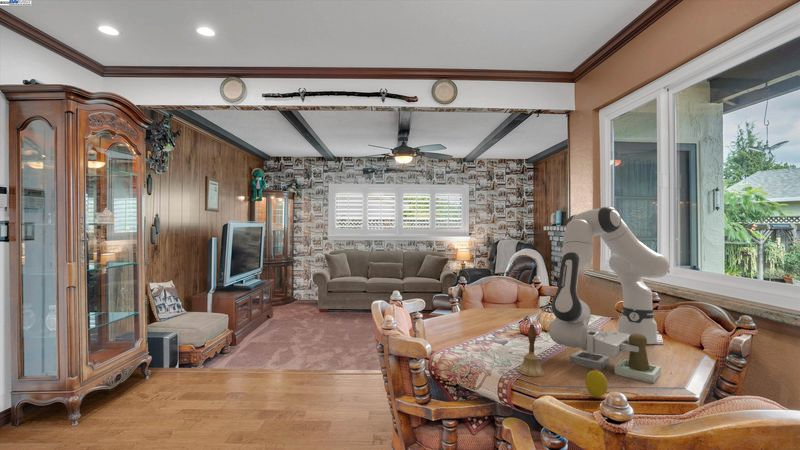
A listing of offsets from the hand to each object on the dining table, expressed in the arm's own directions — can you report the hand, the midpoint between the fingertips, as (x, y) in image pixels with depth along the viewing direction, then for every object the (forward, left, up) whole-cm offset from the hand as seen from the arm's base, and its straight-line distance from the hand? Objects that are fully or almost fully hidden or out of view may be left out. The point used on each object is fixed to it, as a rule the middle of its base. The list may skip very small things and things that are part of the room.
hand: (640, 347), depth 127 cm
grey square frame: (0, -16, -9) cm, 18 cm away
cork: (-2, -1, -7) cm, 7 cm away
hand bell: (+24, -27, -9) cm, 37 cm away
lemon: (+30, -5, -9) cm, 32 cm away
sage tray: (0, -1, -9) cm, 9 cm away
